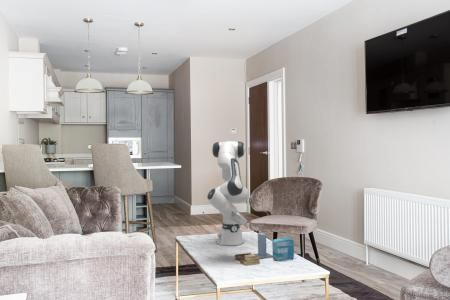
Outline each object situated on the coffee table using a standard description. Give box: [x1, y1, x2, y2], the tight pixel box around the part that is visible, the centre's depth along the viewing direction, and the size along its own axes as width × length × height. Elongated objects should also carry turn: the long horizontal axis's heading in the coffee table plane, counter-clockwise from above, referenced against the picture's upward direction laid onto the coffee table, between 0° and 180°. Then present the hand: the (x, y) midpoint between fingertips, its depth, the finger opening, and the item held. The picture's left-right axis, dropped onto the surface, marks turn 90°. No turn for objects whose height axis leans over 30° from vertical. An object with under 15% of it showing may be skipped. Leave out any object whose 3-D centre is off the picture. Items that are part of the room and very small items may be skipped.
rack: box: [234, 252, 257, 264], centre depth 266 cm, size 10×10×3 cm
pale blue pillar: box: [257, 232, 267, 257], centre depth 276 cm, size 6×3×13 cm, turn 21°
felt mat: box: [251, 252, 273, 260], centre depth 276 cm, size 10×11×1 cm
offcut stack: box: [241, 255, 261, 266], centre depth 259 cm, size 5×9×4 cm, turn 111°
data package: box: [271, 237, 295, 262], centre depth 267 cm, size 12×4×12 cm, turn 113°
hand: (244, 226), depth 272 cm, fingers open, 8 cm apart
